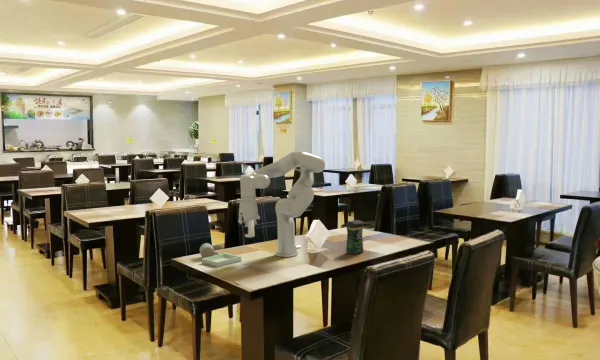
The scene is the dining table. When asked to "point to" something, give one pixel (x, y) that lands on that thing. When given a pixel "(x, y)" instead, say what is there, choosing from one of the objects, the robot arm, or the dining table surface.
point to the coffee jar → (354, 237)
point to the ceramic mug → (207, 250)
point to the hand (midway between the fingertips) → (249, 232)
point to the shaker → (250, 228)
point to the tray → (221, 260)
